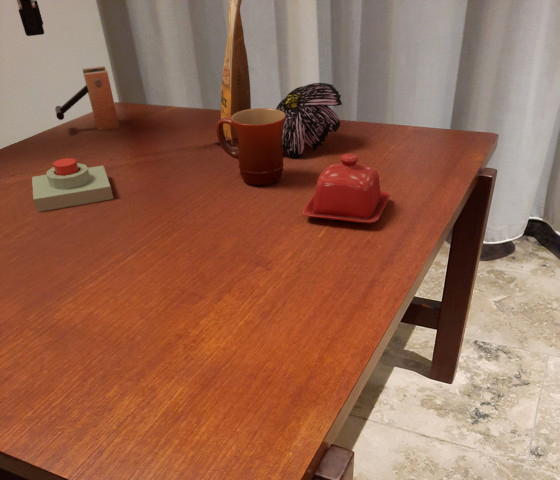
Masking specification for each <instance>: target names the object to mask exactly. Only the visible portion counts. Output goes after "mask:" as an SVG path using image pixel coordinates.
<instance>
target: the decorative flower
mask: <svg viewBox="0 0 560 480" xmlns="http://www.w3.org/2000/svg"><path fill="white" fill-rule="evenodd" d="M341 97H342V95H341V94H340V93H339V91H338V90H337V89H336V88H335V86H334V85H333V84H330V83H327V82H314V83H309V84H306V85H303V86H299V87H296V88H294V89H292V90H291V91H289V92H288V93H287V95H286V97H285V98H283V99H282V100H281V101H280V102H279V103H278V105H277V106H276V108H275V109H277V110H280V111H282V112H284V113H285V114H286V119H285V122H284V127H283V132H282V148H283V153H284V152H285V154H287V155H288V156H289V157H288V158H289V159H295V160H296V159H299V160H300V159H302V157H303V156H304V154H305V150H306V146H308V147H309V148H310V149H311V150H313V151H314V152H316V151H317V148H318V147H319V146H320V147H321V146H323V143H324V142H326V138H327V137H328V136H329V133H332V132H334V133H337V132H338V130H339V128H340V127H341V121H340V119H339V116H338V115H337V113H336V112H335V111H334V110H333V109H332V108H331V107H337V106H342V105H343V103H342V100H341Z"/></svg>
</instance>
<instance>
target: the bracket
mask: <svg viewBox="0 0 560 480" xmlns="http://www.w3.org/2000/svg"><path fill="white" fill-rule="evenodd" d="M81 69H82V74H83V78H84V82H85V86H86V85H87V88H88V93H87V95H88V98H89V103H90V107H91V111H92V115H93V120H94V123H95V126H96V129H97V131H98V132H99V131H106V130H113V129H120V123H119V120H118V119H119V118H118V115H117V109H116V105H115V101H114V100H115V99H114V96H113V90H112V87H111V81H110V78H109V72H108V70H106V67H105V66H104V65H103V66H94V67H85V68H81ZM97 69H98V70H99V72H94V71H96V70H97Z"/></svg>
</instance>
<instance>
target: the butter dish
mask: <svg viewBox="0 0 560 480" xmlns="http://www.w3.org/2000/svg"><path fill="white" fill-rule="evenodd" d="M340 161H341V162H337V163H332V164H330V165H328V166H327V167H326V168H324V169H323V170H322V172H321V173H320V175H319V177H318V178H317V182H316V187H315V192H314V194H313V195H312V196H311V198H310V199H309V201H308V202H307V203H306V204H305V206H304V208H303V209H302V215H303V216H304V217H308V218H318V219H323V220H324V219H325V220H332V221H340V222H341V221H342V222H350V223H359V224H373V223H376V222H377V221H378V220H379V219H380V217H381V215H382V213H383V211H384V210H385V208H386V206H387V203H388V202H389V200H390V196H391V195H390V192H389V191H385V190H381V184H380V176H379V172H378V170H376V169H375V168H374V167H371V166H369V165H367V164H362V163H357V162H358V161H359V157H358V156H357V155H356V154H354V153H344V154H343V155H341V157H340Z"/></svg>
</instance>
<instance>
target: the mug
mask: <svg viewBox="0 0 560 480" xmlns="http://www.w3.org/2000/svg"><path fill="white" fill-rule="evenodd" d="M285 119H286V114H285V113H284V112H282V111H280V110H277V109H276V108H269V107H256V108H251V109H247V110H243V111H239V112H237V113H235V114H233V115H232V116H231V117H224V118H222V119H221V118H220V119H219V120H218V121H217V122H216V126H215V127H216V130H215V131H216V136H217V140H218V143H219V145H220V147H221V148H222V150H223V151H224V152H225V153H226V154H227V155H228V156H230V157H232V158H233V159H236V160H238V169H239V173H240V176H241V180H243V181H244V182H246V184H248V185H251V186H256V187H257V186H258V187H264V186H265V187H266V186H271V185H273V184H275V183H277V182H278V181H280V180H281V179H282V177H283V172H284V152H283V148H282V132H283V127H284V122H285ZM224 123H226V124H229V125H231V126H232V127H233V128H234V129H235V132H236V135H237V137H236V139H237V140H238V145H237V148H233V146H230V144H229V143H227V141H226V140H227V139H226V136H225V135H224V130H223V124H224Z"/></svg>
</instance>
